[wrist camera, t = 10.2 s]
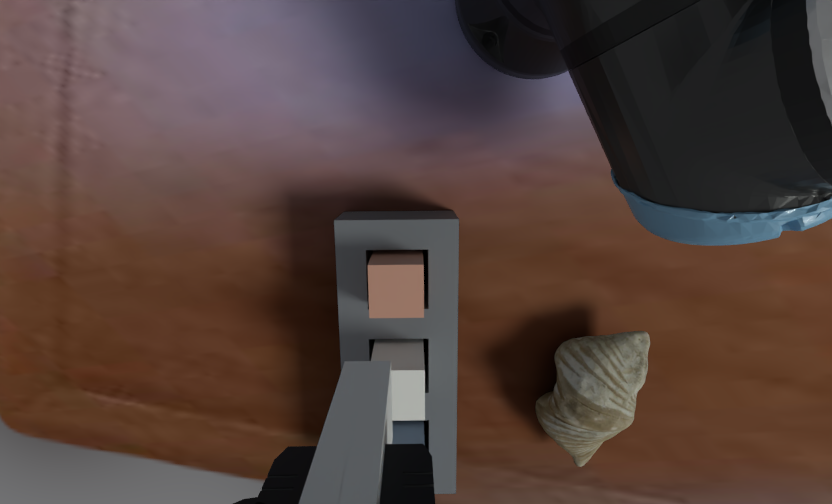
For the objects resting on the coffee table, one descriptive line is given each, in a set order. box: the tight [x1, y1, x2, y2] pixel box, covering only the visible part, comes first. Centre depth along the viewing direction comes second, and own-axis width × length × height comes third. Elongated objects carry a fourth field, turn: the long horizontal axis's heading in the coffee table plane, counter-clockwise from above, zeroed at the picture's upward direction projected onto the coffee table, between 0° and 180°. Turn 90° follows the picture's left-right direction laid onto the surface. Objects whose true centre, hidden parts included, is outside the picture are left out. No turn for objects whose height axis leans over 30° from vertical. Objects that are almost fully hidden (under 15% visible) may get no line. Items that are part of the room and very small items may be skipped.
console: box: [334, 211, 459, 494], centre depth 46 cm, size 28×11×6 cm, turn 1°
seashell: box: [535, 331, 650, 467], centre depth 47 cm, size 14×9×10 cm
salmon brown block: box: [368, 250, 424, 318], centre depth 41 cm, size 5×5×7 cm
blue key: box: [392, 420, 425, 445], centre depth 45 cm, size 5×5×7 cm
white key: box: [371, 339, 425, 421], centre depth 42 cm, size 5×5×7 cm
